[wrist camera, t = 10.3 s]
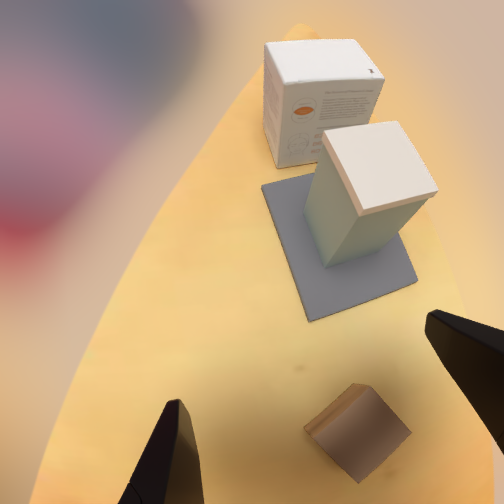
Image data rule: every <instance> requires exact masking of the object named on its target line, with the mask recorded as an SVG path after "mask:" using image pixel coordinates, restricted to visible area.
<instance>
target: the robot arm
mask: <svg viewBox="0 0 504 504" xmlns="http://www.w3.org/2000/svg"><path fill="white" fill-rule="evenodd" d="M425 334H426V337H427V338H428V340H429V342H430V343H431V345H432V347H433V348H434V350H435V352H436V353H437V355H438V357H439V359H440V360H441V362H442V364H443V365H444V367H445V368H446V370H447V371H448V372H449V374H450V375H451V376H452V378H453V379H454V381H455V382H456V383H457V385H458V386H459V388H460V389H461V390H462V392H463V393H464V395H465V396H466V398H467V399H468V401H469V402H470V403H471V405H472V406H473V408H474V409H475V411H476V412H477V414H478V415H479V417H480V418H481V420H482V421H483V423H484V424H485V426H486V427H487V429H488V430H489V432H490V434H491V435H492V437H493V438H494V440H495V441H496V442H497V445H498V446H499V448H500V450H501V451H502V453H503V454H504V331H503V330H499V329H497V328H494V327H490V326H487V325H484V324H481V323H478V322H475V321H472V320H469V319H466V318H463V317H460V316H457V315H454V314H450V313H447V312H444V311H441V310H438V309H436V310H433V311H431V312H429V313H428V314H427V317H426V324H425ZM129 482H130V483H128V484H127V487H126V489H125V491H124V493H123V495H122V497H121V499H120V500H119V502H118V504H204V497H203V489H202V480H201V471H200V461H199V455H198V450H197V445H196V441H195V436H194V432H193V427H192V422H191V418H190V415H189V412H188V411H187V409H186V407H185V406H184V404H183V403H182V401H181V400H180V399H174V400H170V401H168V402H167V403H166V405H165V408H164V410H163V412H162V414H161V416H160V418H159V420H158V422H157V424H156V426H155V428H154V430H153V432H152V434H151V437H150V439H149V441H148V443H147V445H146V447H145V449H144V451H143V453H142V455H141V457H140V459H139V462H138V464H137V466H136V468H135V470H134V472H133V474H132V476H131V478H130V480H129Z"/></svg>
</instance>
